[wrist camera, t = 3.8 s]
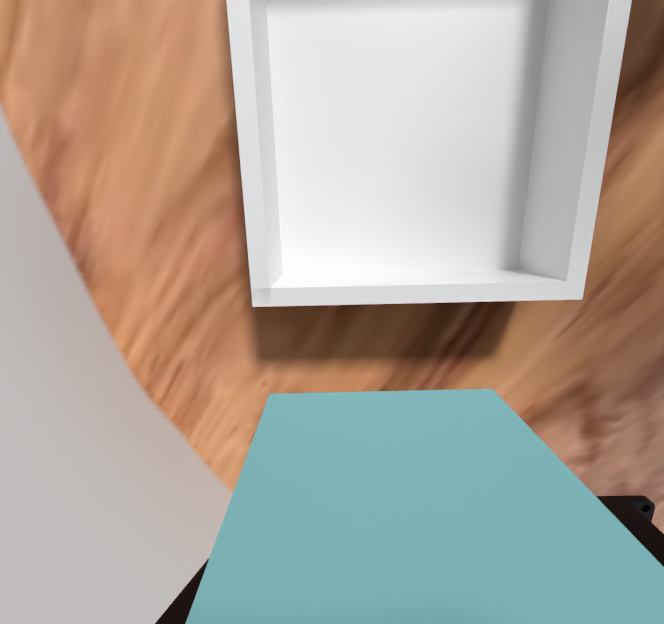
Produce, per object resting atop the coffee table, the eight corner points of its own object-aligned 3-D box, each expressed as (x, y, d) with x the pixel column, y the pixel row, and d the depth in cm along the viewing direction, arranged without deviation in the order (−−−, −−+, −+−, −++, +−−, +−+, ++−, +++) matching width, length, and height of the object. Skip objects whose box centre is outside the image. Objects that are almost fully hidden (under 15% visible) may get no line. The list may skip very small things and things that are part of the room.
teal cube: (474, 562, 9) (643, 967, 4) (283, 566, 9) (225, 971, 4) (492, 388, 8) (769, 676, 3) (269, 394, 8) (162, 685, 3)
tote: (524, 281, 17) (582, 299, 13) (271, 287, 17) (252, 306, 13) (573, -126, 13) (677, -277, 9) (242, -114, 13) (204, -259, 9)
